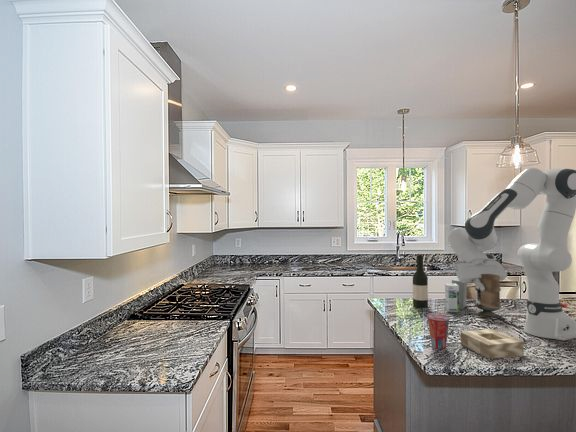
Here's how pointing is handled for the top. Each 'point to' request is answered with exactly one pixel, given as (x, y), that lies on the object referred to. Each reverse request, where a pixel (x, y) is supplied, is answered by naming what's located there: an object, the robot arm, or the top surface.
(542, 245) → the robot arm
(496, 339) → the socket block
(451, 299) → the syrup box
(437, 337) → the cup
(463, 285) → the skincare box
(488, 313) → the grey ceramic vase
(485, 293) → the walnut peg
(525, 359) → the top surface
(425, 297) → the wine bottle
